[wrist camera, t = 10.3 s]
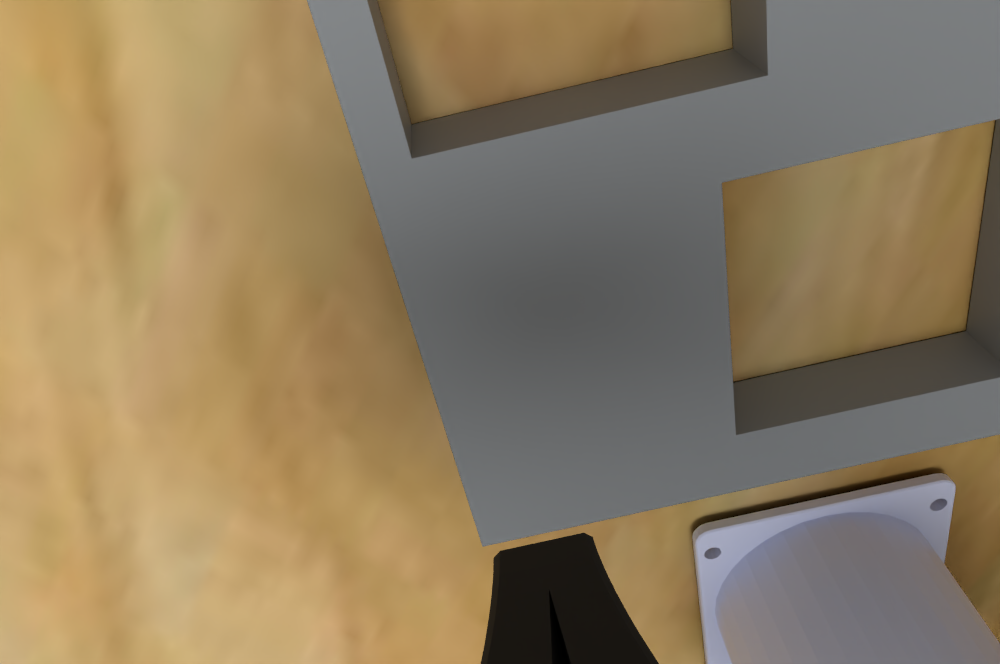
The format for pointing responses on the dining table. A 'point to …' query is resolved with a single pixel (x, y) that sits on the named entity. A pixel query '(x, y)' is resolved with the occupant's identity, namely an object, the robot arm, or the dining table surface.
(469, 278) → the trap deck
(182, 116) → the dining table surface
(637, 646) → the robot arm
